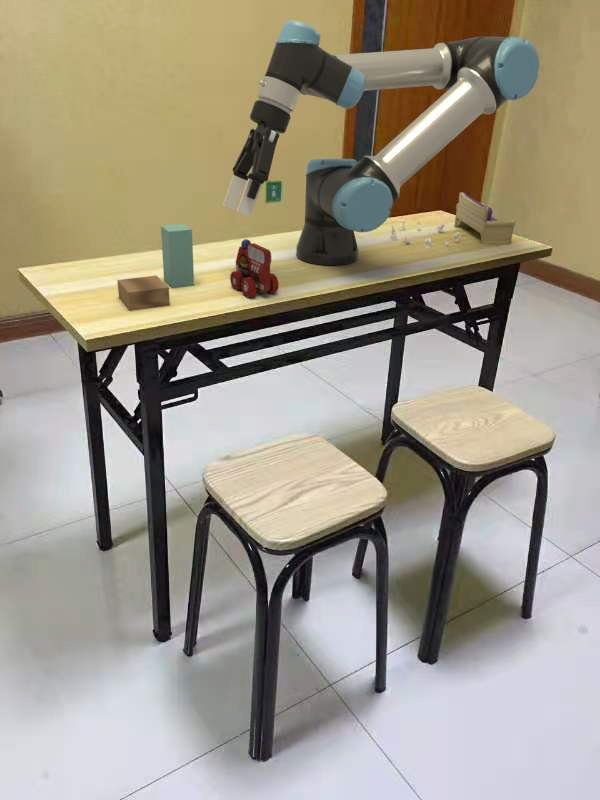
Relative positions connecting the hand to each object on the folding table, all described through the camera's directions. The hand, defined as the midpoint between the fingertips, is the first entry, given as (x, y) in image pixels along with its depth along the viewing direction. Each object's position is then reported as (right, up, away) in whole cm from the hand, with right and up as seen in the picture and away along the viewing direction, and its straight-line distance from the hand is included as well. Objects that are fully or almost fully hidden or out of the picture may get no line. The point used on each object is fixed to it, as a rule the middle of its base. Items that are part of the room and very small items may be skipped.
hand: (235, 211), depth 139 cm
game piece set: (+47, +6, +49) cm, 68 cm away
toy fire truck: (+3, -15, +6) cm, 17 cm away
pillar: (-13, -13, +8) cm, 20 cm away
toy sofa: (+64, +8, +55) cm, 85 cm away
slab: (-18, -19, -2) cm, 26 cm away
